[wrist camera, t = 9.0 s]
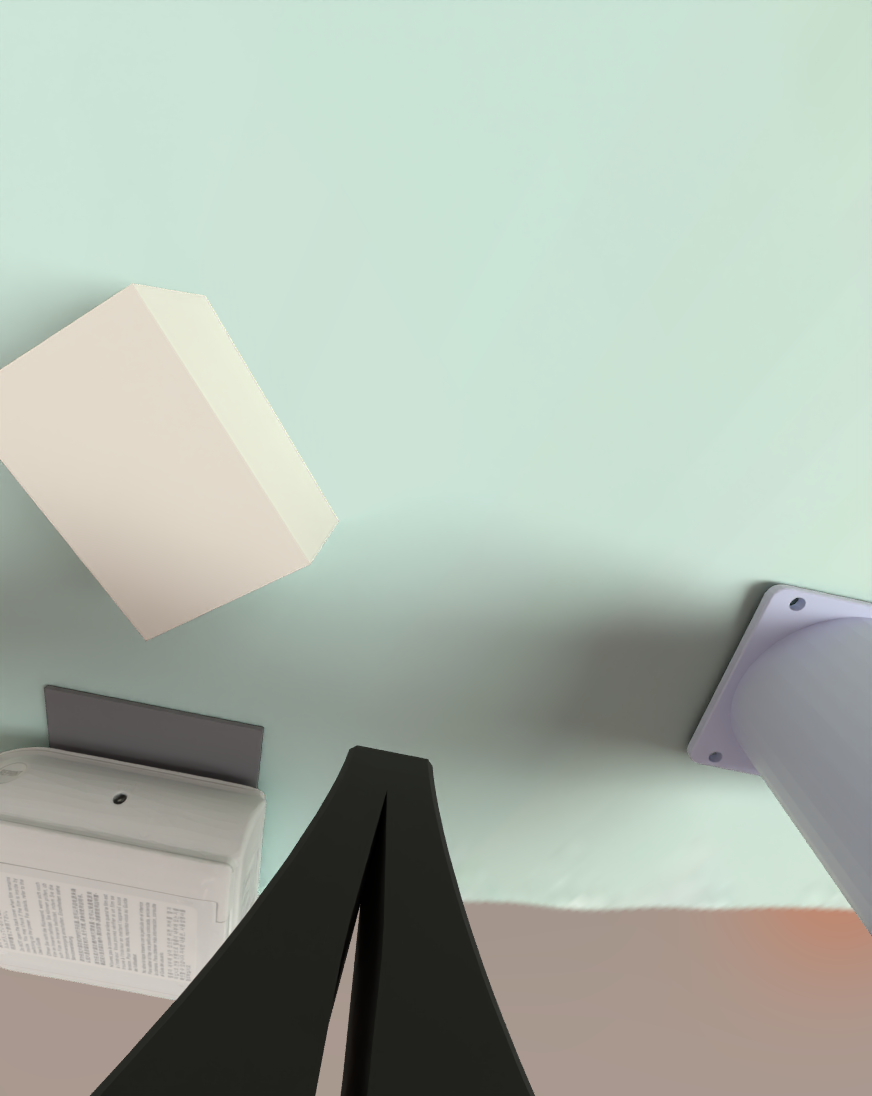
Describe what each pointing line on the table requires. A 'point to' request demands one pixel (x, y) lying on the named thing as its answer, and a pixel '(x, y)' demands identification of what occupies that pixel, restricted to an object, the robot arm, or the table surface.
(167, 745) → the mat
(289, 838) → the table surface
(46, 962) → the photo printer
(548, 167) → the table surface
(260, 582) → the card box
